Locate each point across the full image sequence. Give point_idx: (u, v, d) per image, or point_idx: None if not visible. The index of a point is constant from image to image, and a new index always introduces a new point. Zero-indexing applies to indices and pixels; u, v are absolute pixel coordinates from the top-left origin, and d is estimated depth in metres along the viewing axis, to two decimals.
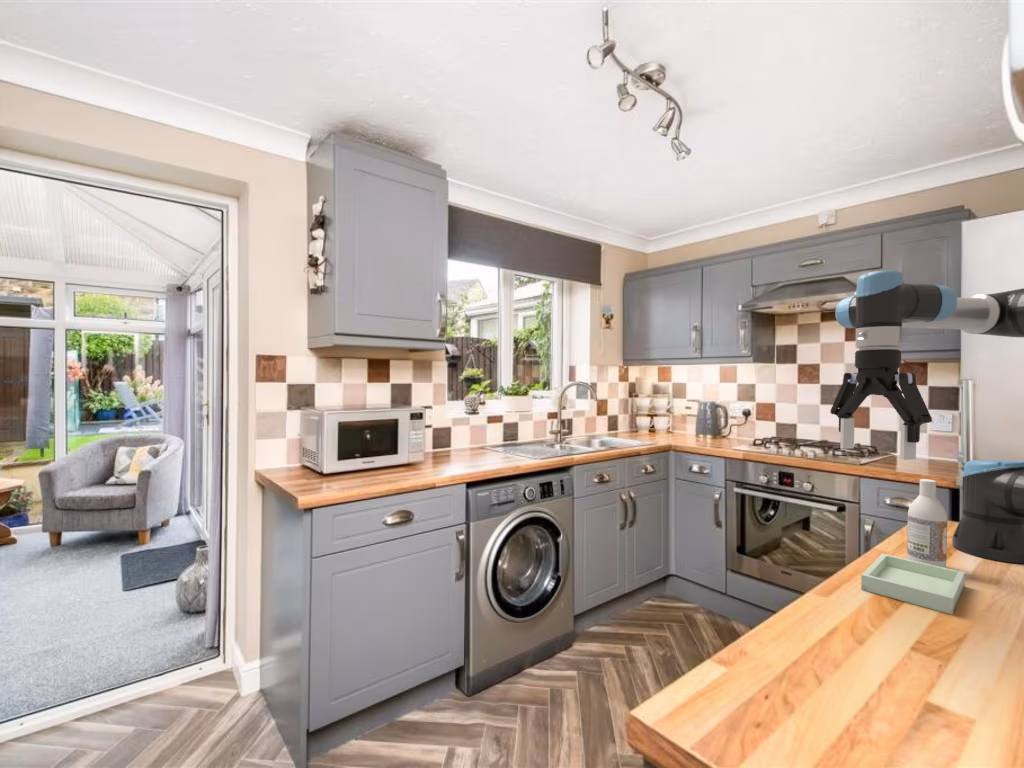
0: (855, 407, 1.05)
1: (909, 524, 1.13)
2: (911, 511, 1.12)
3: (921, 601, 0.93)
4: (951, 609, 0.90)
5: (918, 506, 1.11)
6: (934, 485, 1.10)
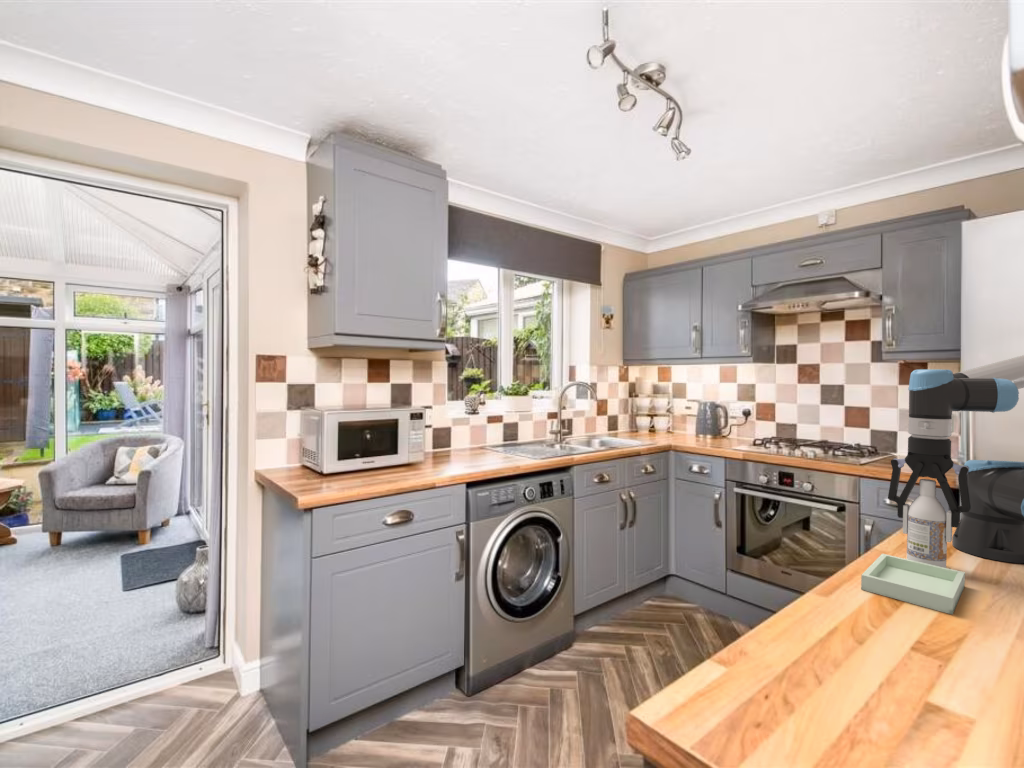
0: (910, 491, 1.15)
1: (909, 524, 1.13)
2: (911, 511, 1.12)
3: (921, 601, 0.93)
4: (951, 609, 0.90)
5: (918, 506, 1.11)
6: (934, 485, 1.10)
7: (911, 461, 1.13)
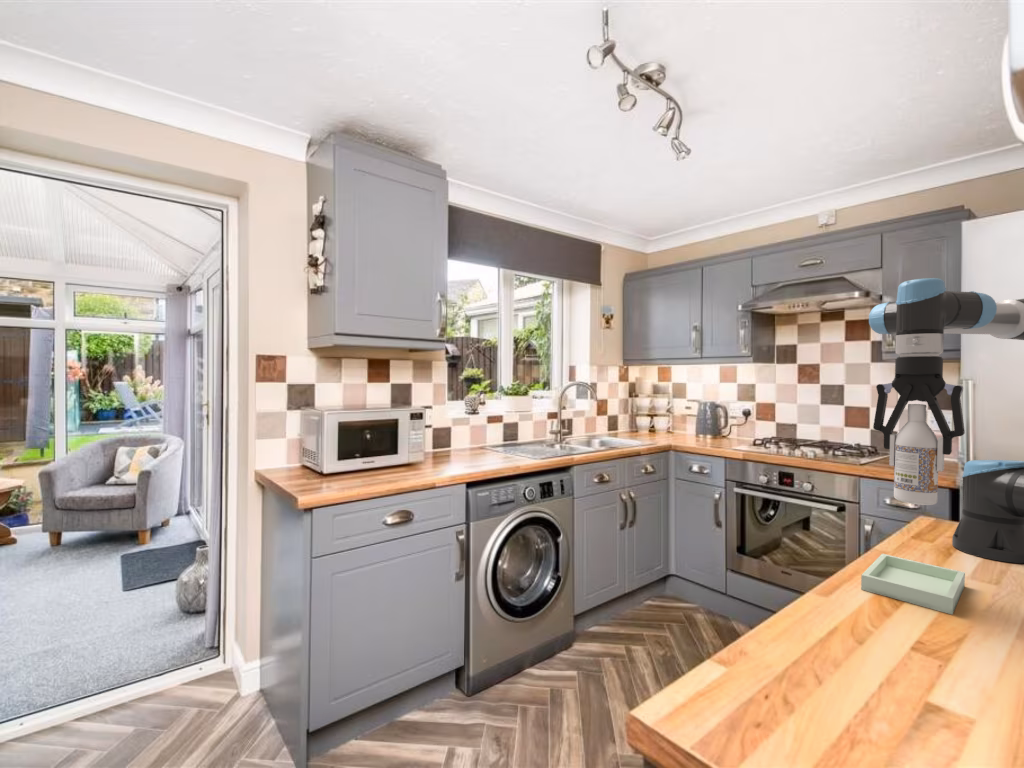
0: (898, 419, 1.03)
1: (896, 454, 1.01)
2: (898, 439, 1.01)
3: (921, 601, 0.93)
4: (951, 609, 0.90)
5: (906, 433, 0.99)
6: (924, 409, 0.99)
7: (899, 384, 1.01)
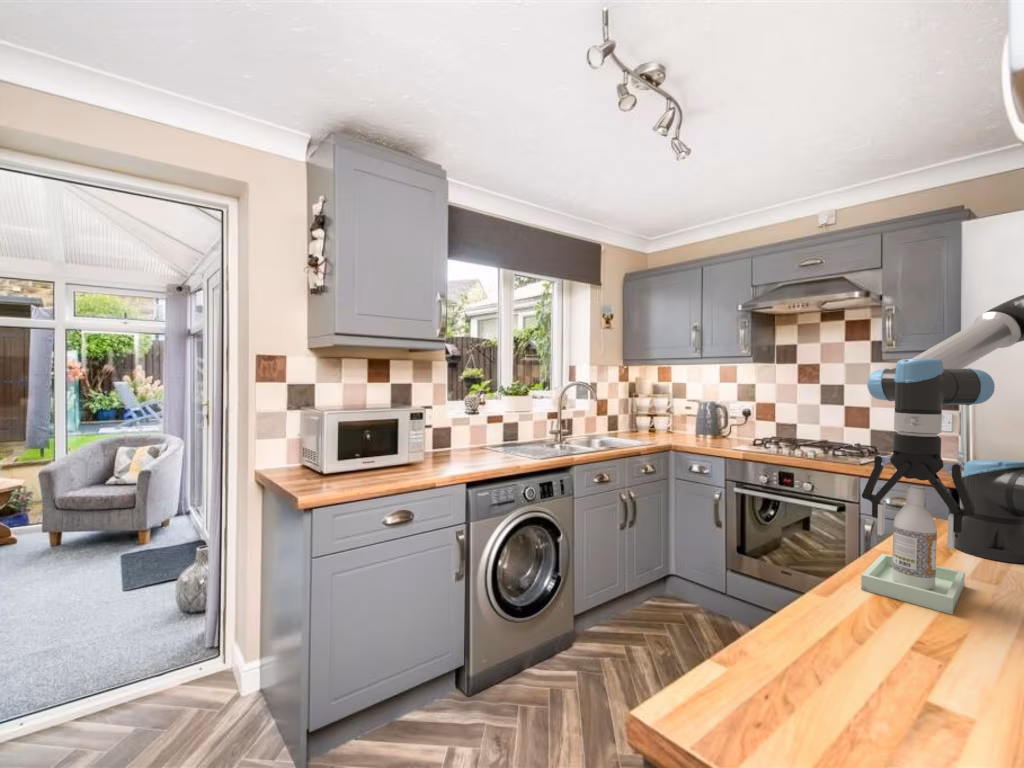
0: (888, 491, 1.04)
1: (895, 536, 1.02)
2: (897, 521, 1.01)
3: (921, 601, 0.93)
4: (951, 609, 0.90)
5: (904, 516, 1.00)
6: (922, 493, 0.99)
7: (897, 461, 1.02)
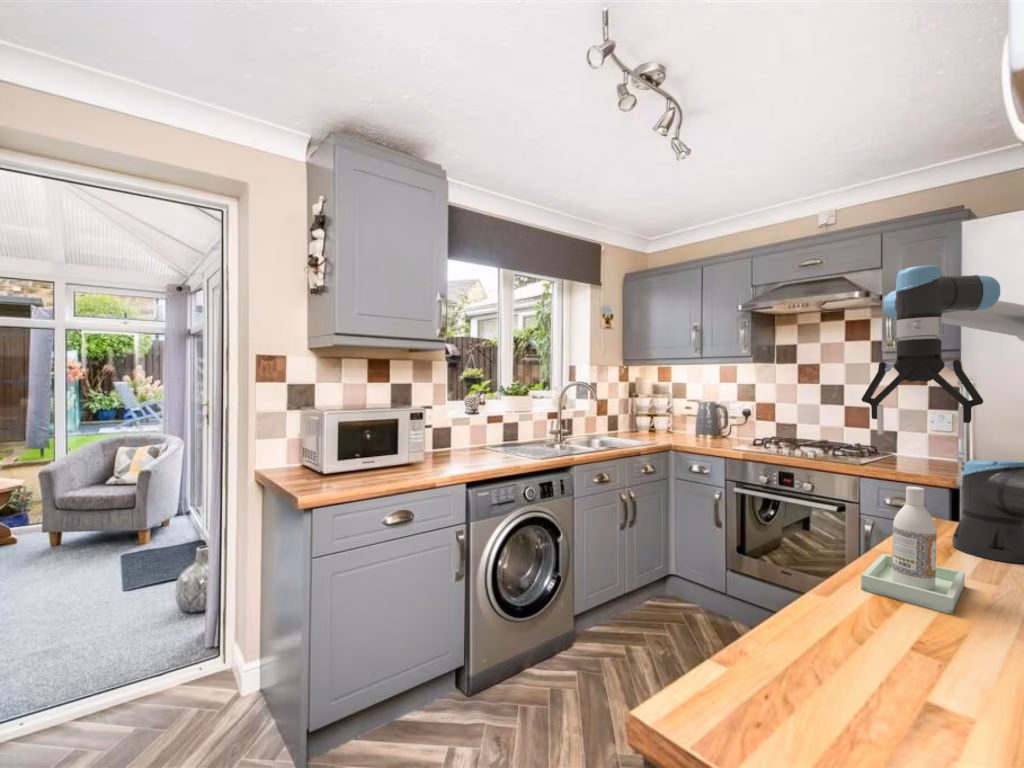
0: (888, 394, 1.11)
1: (894, 536, 1.02)
2: (897, 522, 1.01)
3: (921, 601, 0.93)
4: (951, 609, 0.90)
5: (904, 517, 1.00)
6: (922, 493, 0.99)
7: (900, 366, 1.08)
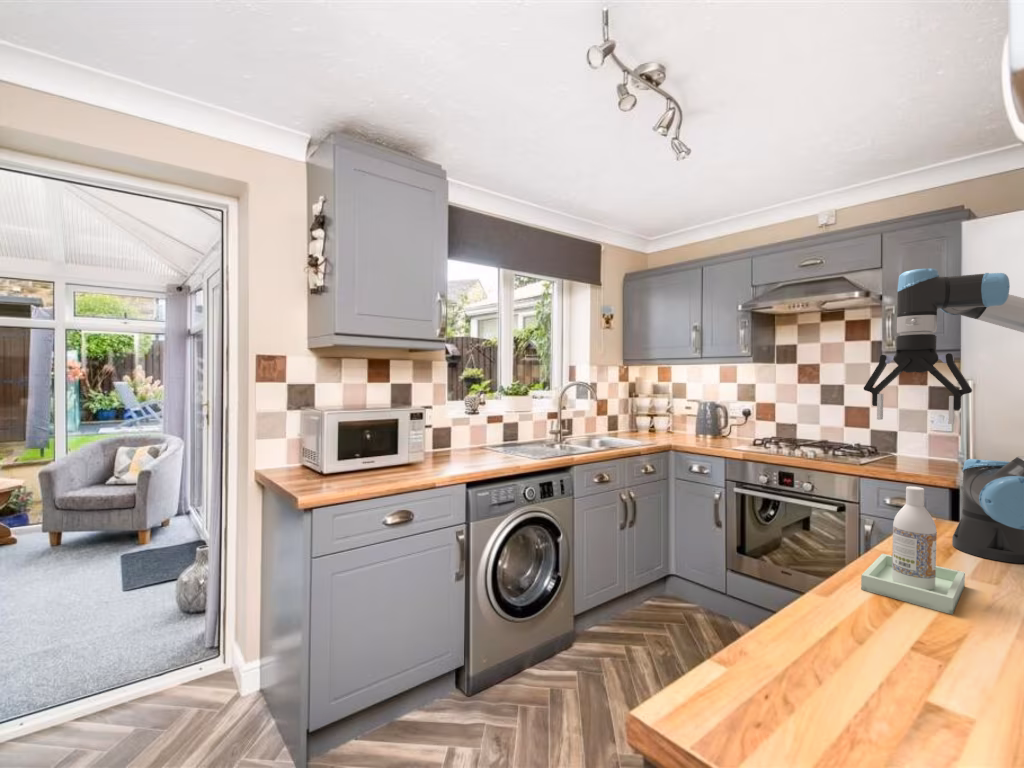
0: (887, 384, 1.23)
1: (894, 536, 1.02)
2: (897, 522, 1.01)
3: (921, 601, 0.93)
4: (951, 609, 0.90)
5: (904, 517, 1.00)
6: (922, 493, 0.99)
7: (899, 359, 1.20)
